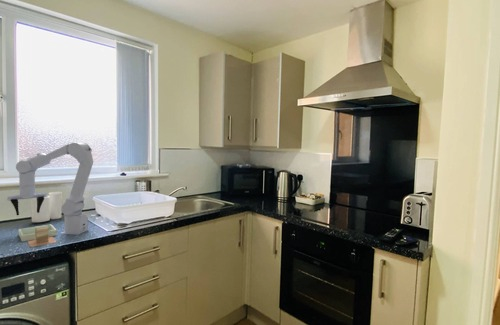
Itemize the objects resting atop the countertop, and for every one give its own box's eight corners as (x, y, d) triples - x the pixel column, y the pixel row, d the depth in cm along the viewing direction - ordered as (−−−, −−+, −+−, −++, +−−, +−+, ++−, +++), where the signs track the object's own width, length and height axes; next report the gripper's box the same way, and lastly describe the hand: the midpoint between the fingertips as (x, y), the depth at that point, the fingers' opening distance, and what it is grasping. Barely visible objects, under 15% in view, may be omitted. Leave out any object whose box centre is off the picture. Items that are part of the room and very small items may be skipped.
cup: (45, 219, 156) (44, 194, 155) (54, 221, 152) (53, 196, 151) (27, 223, 148) (27, 197, 147) (36, 225, 145) (35, 198, 144)
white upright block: (60, 216, 164) (60, 191, 163) (64, 218, 160) (64, 192, 159) (47, 218, 159) (46, 192, 158) (50, 220, 154) (50, 194, 154)
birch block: (48, 241, 120) (48, 227, 120) (37, 243, 117) (36, 229, 117) (46, 239, 123) (46, 226, 122) (35, 241, 120) (35, 227, 120)
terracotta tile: (56, 242, 120) (56, 241, 120) (30, 248, 113) (30, 246, 113) (52, 237, 126) (52, 236, 126) (27, 242, 120) (27, 241, 120)
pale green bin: (56, 236, 128) (56, 229, 128) (21, 242, 119) (21, 235, 119) (51, 230, 137) (51, 224, 137) (18, 235, 128) (18, 229, 128)
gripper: (44, 183, 139) (45, 209, 140) (6, 185, 129) (7, 214, 130) (47, 184, 134) (47, 212, 135) (7, 187, 124) (8, 217, 125)
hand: (28, 213), depth 132 cm, fingers open, 7 cm apart
